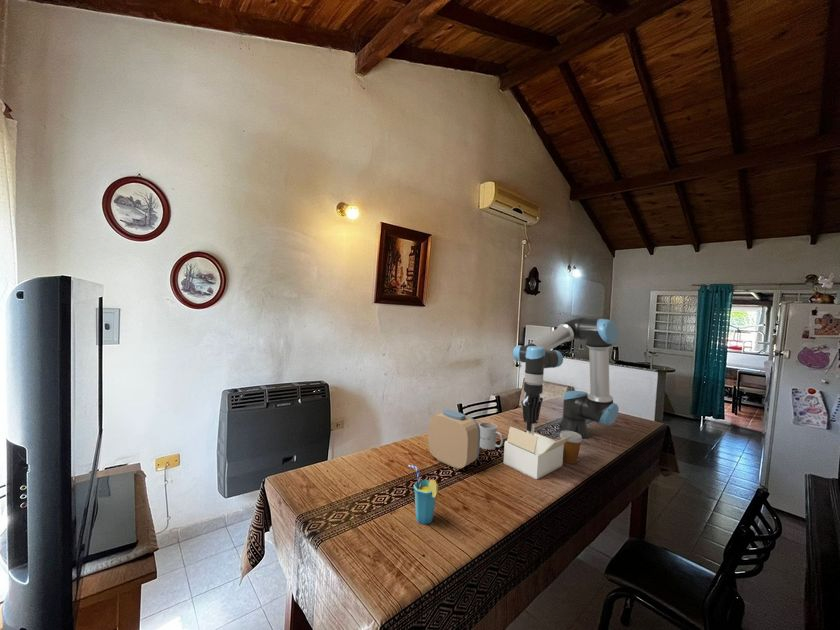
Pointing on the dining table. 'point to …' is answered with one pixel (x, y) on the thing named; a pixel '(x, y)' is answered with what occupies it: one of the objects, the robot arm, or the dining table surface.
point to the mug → (489, 436)
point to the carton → (534, 457)
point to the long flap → (557, 444)
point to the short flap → (522, 439)
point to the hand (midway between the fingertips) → (530, 437)
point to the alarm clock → (454, 438)
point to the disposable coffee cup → (571, 446)
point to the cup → (424, 498)
